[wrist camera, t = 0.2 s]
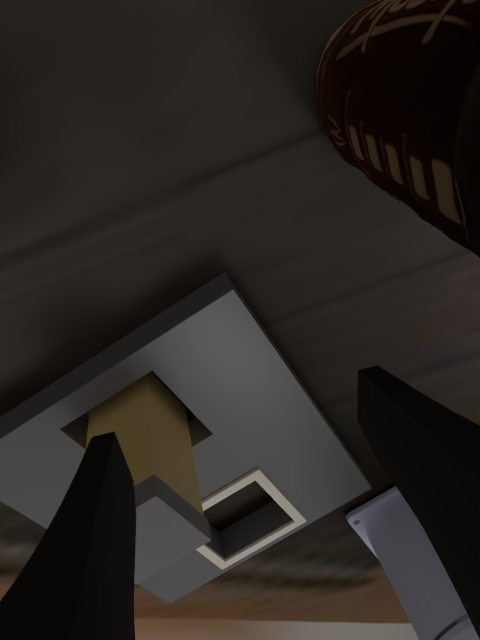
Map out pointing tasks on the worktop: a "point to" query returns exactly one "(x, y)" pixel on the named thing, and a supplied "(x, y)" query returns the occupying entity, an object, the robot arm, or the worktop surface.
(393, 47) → the coffee cup
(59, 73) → the worktop surface
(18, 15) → the worktop surface
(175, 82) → the worktop surface
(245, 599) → the worktop surface
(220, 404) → the socket panel
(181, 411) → the plug
